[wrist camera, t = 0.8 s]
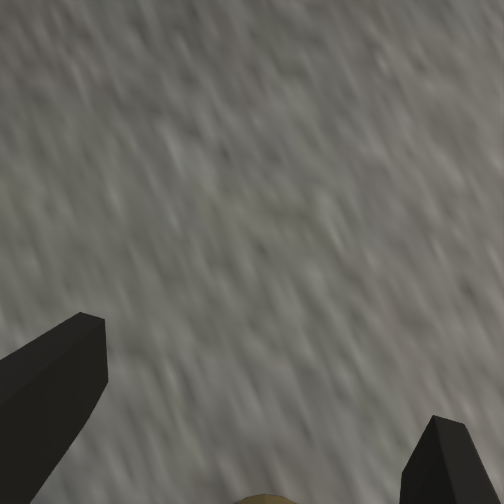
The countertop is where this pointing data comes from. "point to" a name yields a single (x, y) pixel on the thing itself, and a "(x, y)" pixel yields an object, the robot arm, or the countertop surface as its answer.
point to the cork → (265, 500)
